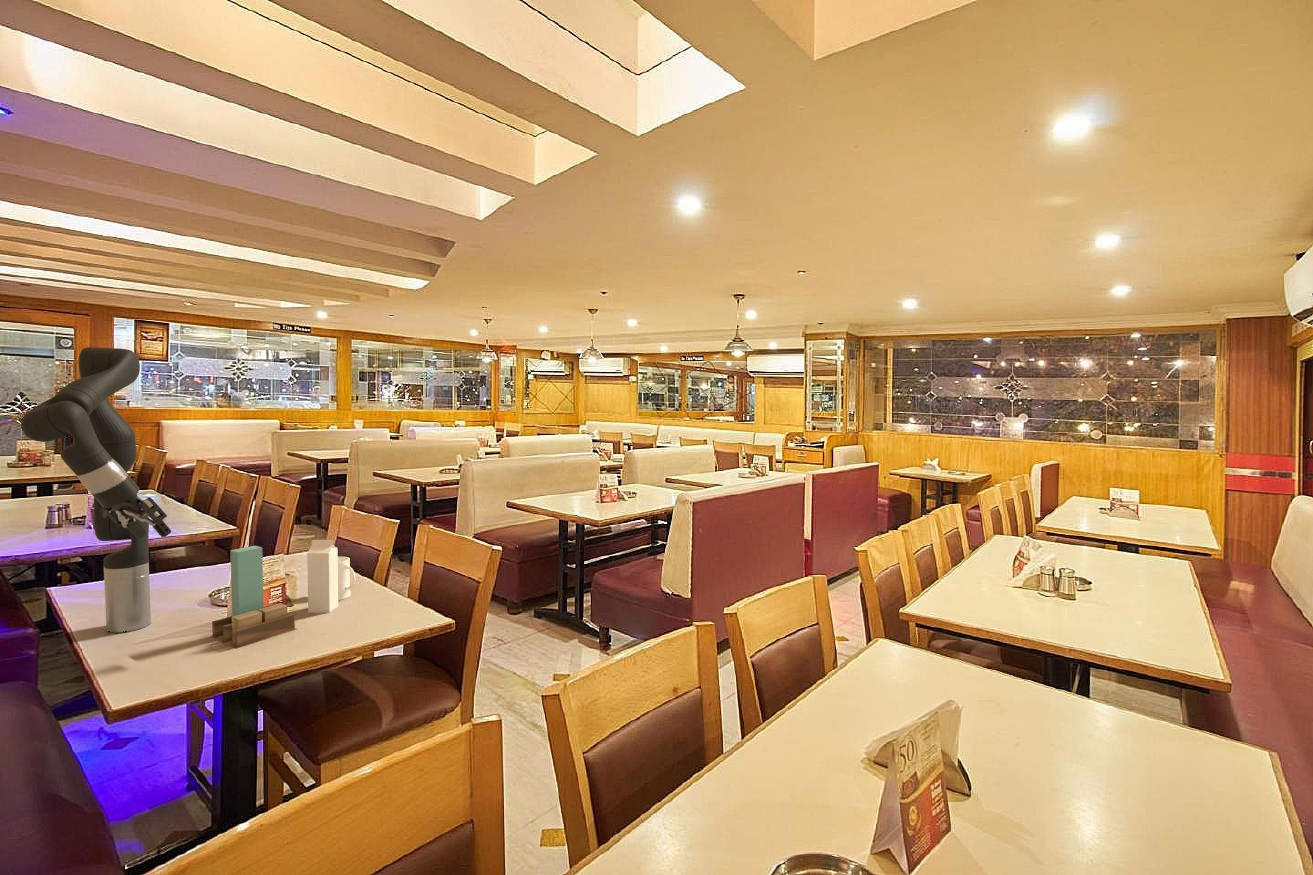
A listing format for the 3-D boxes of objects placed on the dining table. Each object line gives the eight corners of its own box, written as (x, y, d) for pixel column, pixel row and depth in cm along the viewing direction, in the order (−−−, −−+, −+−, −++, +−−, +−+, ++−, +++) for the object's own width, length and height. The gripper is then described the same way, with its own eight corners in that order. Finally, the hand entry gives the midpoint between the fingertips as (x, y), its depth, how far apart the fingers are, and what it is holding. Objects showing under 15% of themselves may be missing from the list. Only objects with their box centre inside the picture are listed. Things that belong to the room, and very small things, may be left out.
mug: (364, 596, 195) (364, 559, 194) (341, 604, 187) (341, 566, 186) (337, 590, 200) (337, 554, 199) (314, 598, 192) (313, 561, 191)
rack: (210, 642, 158) (209, 621, 157) (270, 624, 171) (270, 604, 170) (236, 654, 151) (235, 632, 151) (297, 634, 164) (297, 614, 164)
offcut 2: (259, 633, 160) (258, 609, 160) (281, 626, 165) (280, 603, 165) (265, 636, 159) (265, 611, 158) (287, 629, 164) (287, 605, 163)
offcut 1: (232, 641, 155) (231, 616, 154) (256, 634, 160) (255, 610, 159) (238, 644, 153) (238, 619, 153) (262, 637, 158) (261, 612, 158)
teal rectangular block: (232, 632, 161) (230, 550, 159) (256, 625, 166) (255, 545, 164) (239, 635, 159) (237, 552, 157) (264, 628, 164) (262, 547, 162)
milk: (317, 610, 182) (316, 537, 181) (338, 610, 183) (337, 537, 181) (307, 617, 176) (306, 542, 175) (329, 617, 177) (328, 542, 175)
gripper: (144, 470, 140) (188, 523, 149) (102, 474, 145) (147, 526, 153) (114, 490, 134) (162, 545, 142) (71, 494, 139) (120, 547, 147)
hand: (154, 535), depth 148 cm, fingers open, 8 cm apart
